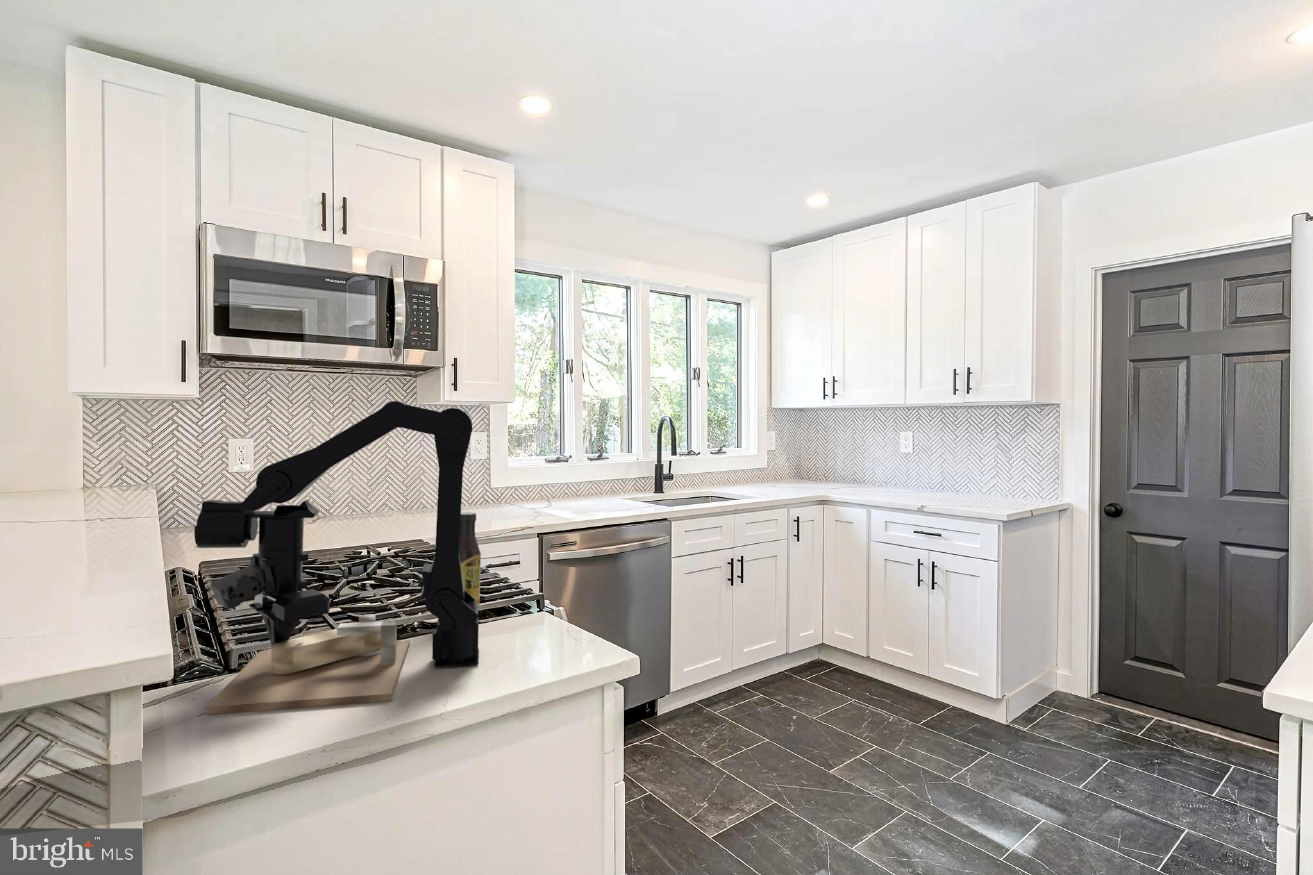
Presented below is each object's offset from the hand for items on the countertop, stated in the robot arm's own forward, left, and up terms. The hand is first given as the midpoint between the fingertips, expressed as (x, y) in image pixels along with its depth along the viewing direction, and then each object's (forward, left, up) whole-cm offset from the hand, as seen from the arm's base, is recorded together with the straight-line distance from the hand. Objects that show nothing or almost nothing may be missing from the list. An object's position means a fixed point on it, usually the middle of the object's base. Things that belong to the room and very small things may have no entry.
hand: (278, 652), depth 99 cm
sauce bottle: (-25, -25, -3) cm, 36 cm away
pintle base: (-6, +2, -3) cm, 7 cm away
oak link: (-7, -1, -2) cm, 7 cm away
